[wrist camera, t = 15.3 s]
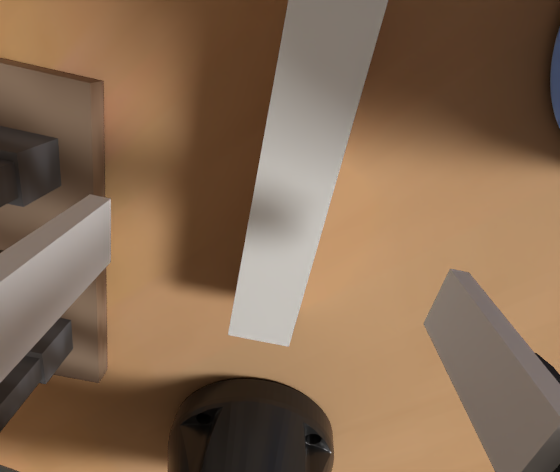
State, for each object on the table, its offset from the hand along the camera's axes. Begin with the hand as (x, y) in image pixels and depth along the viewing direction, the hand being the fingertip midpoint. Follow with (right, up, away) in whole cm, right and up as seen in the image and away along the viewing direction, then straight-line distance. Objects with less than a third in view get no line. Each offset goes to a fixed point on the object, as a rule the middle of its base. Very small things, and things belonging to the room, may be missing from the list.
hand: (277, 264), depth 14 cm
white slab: (+1, +5, +9) cm, 11 cm away
